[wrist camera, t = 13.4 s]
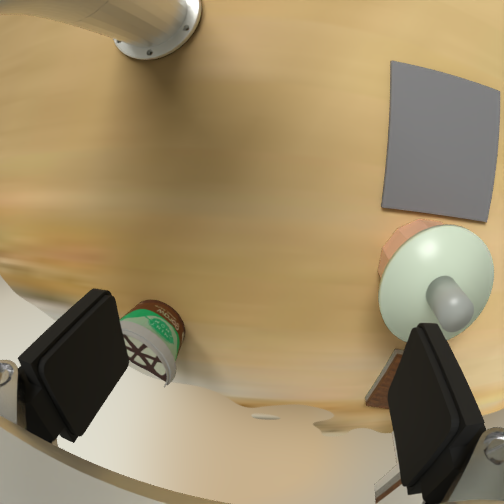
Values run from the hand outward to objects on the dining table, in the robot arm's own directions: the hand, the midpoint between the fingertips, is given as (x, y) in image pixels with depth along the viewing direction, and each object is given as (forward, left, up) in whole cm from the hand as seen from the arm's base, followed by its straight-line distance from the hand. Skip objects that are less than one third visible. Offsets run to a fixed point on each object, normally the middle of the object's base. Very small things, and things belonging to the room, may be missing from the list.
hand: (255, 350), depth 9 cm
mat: (-7, +19, -30) cm, 36 cm away
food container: (+21, -18, -31) cm, 41 cm away
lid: (+9, +18, -23) cm, 31 cm away
